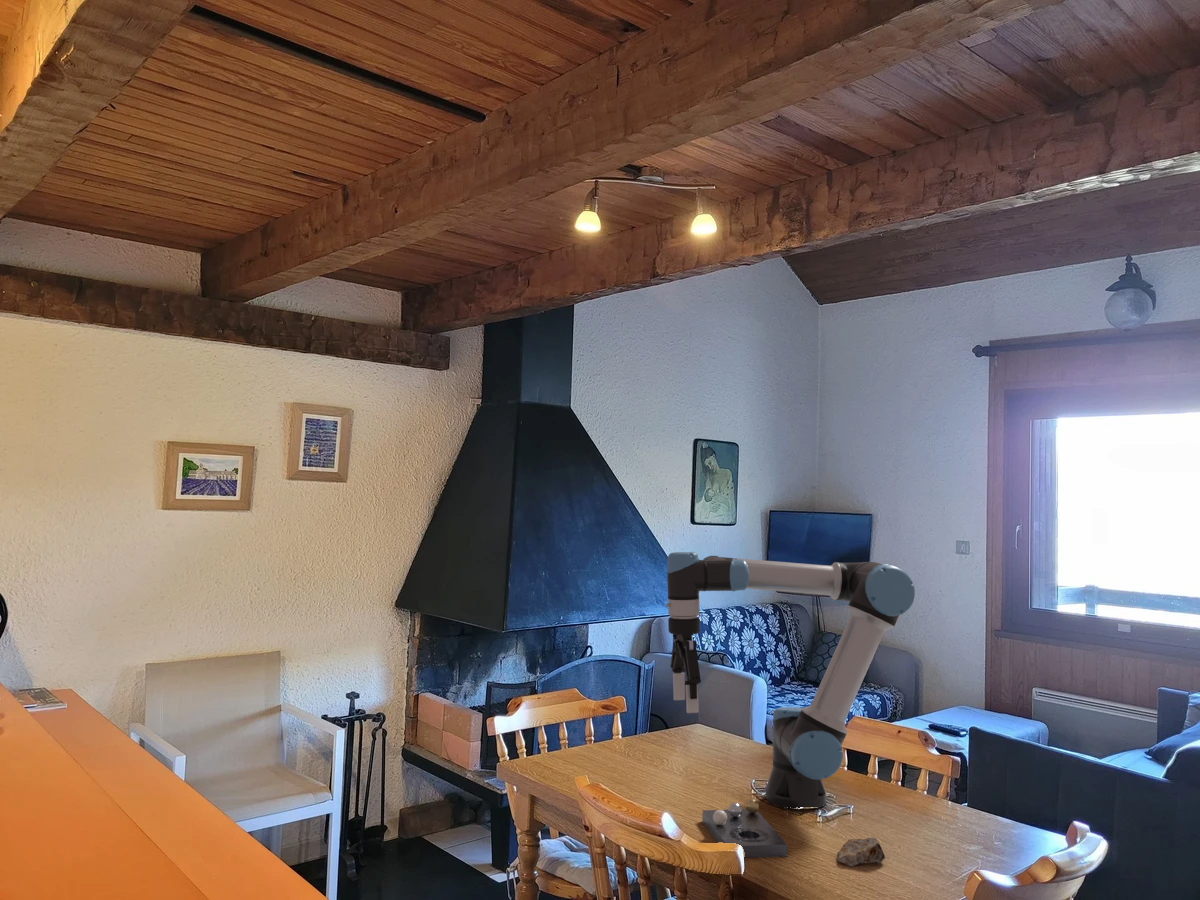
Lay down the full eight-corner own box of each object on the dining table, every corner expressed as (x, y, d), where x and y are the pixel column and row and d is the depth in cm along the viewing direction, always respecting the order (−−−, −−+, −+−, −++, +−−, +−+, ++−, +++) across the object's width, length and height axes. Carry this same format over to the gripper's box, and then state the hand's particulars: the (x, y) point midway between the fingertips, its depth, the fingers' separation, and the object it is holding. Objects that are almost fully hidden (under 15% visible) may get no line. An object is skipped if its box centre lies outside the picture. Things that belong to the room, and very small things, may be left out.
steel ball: (739, 814, 206) (740, 800, 206) (743, 819, 203) (744, 805, 203) (726, 814, 206) (726, 800, 206) (730, 819, 203) (730, 805, 203)
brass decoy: (756, 810, 209) (756, 796, 210) (760, 815, 206) (760, 801, 206) (743, 810, 209) (743, 796, 209) (747, 815, 206) (747, 801, 206)
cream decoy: (725, 822, 201) (725, 807, 201) (728, 827, 198) (729, 812, 198) (711, 822, 201) (711, 807, 201) (714, 827, 198) (715, 812, 198)
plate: (702, 821, 208) (702, 810, 209) (755, 819, 210) (755, 809, 210) (727, 858, 187) (727, 846, 187) (786, 856, 188) (787, 844, 188)
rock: (875, 853, 192) (830, 843, 192) (882, 829, 191) (837, 819, 191) (885, 879, 184) (838, 869, 184) (893, 855, 182) (845, 844, 183)
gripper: (657, 611, 225) (659, 695, 224) (680, 624, 200) (682, 719, 199) (686, 610, 226) (688, 694, 225) (712, 622, 201) (715, 717, 200)
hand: (685, 706), depth 212 cm, fingers open, 13 cm apart
